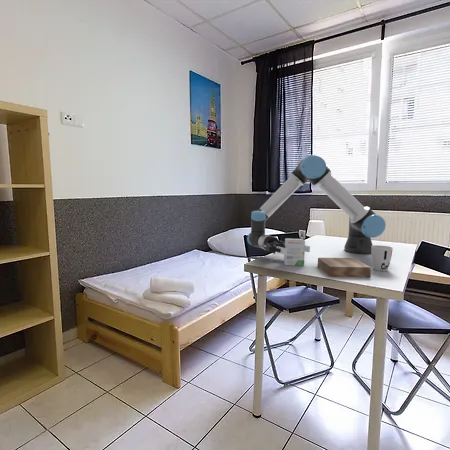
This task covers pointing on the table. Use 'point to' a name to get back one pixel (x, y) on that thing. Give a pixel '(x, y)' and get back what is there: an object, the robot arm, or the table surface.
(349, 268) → the walnut stand
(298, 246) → the ink box
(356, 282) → the table surface
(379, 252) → the cup
